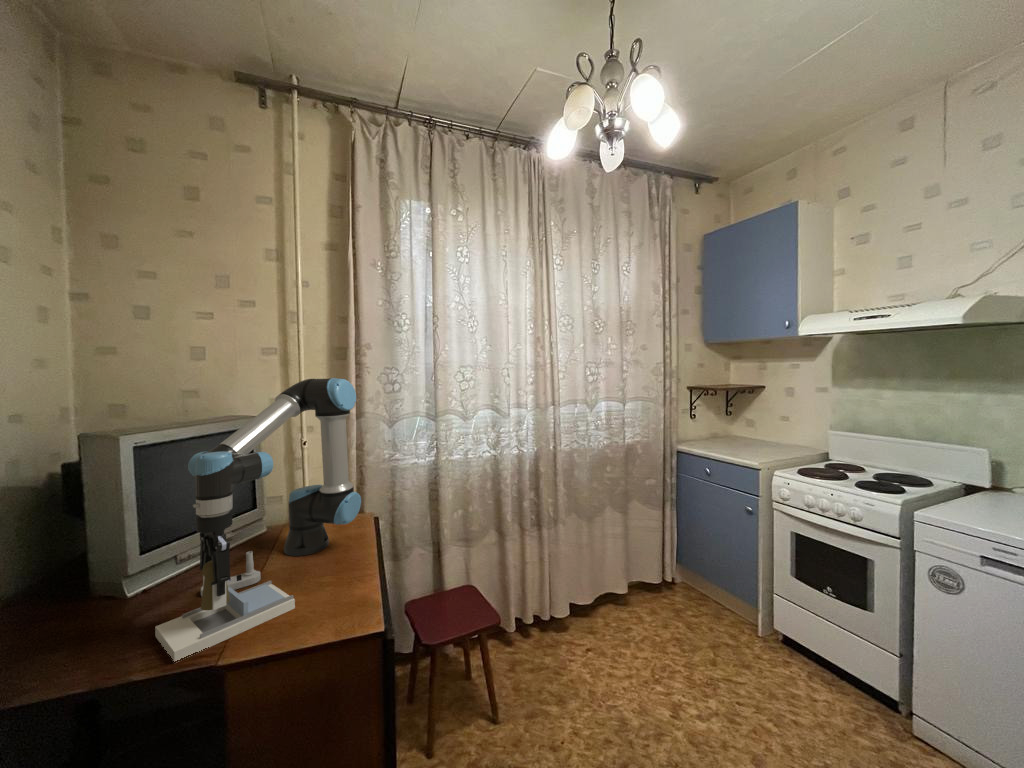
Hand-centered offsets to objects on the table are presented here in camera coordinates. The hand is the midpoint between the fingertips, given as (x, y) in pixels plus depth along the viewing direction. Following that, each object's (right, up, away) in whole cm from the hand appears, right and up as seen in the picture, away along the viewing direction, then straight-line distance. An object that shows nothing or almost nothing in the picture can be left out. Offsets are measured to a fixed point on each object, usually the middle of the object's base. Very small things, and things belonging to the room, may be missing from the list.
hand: (214, 602), depth 100 cm
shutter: (+5, -4, +8) cm, 10 cm away
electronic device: (-10, -7, +20) cm, 23 cm away
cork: (0, 0, 0) cm, 0 cm away
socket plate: (+2, -6, +3) cm, 7 cm away
